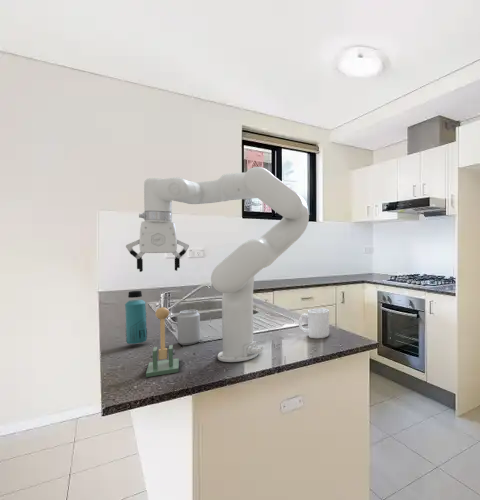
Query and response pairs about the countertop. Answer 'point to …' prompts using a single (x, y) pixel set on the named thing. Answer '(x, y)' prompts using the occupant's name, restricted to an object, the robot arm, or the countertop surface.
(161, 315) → the spoon
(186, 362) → the countertop surface
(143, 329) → the beverage bottle
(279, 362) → the countertop surface
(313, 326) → the cup
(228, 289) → the robot arm
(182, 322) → the can
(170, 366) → the spoon stand
